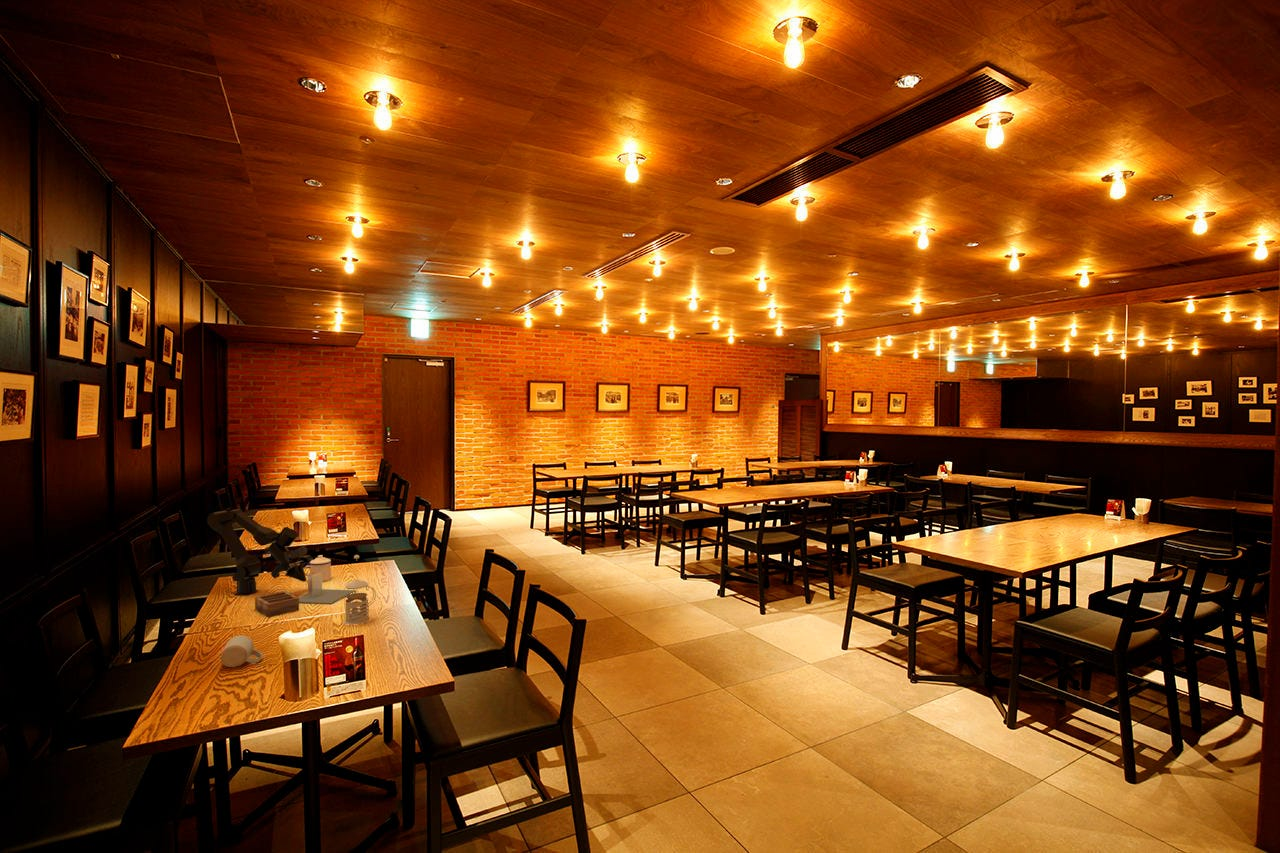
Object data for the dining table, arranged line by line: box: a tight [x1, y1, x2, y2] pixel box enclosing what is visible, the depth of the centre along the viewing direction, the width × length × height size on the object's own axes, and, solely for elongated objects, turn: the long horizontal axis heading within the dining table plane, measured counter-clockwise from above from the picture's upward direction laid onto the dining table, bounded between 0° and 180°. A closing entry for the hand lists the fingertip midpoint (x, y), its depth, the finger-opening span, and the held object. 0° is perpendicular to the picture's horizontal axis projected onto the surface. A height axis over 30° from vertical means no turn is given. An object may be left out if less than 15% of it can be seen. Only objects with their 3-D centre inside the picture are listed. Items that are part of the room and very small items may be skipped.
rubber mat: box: [298, 588, 357, 605], centre depth 257 cm, size 18×18×1 cm
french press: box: [342, 554, 377, 626], centre depth 228 cm, size 10×12×25 cm
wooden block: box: [307, 573, 323, 598], centre depth 256 cm, size 2×6×9 cm, turn 170°
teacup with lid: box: [303, 554, 332, 583], centre depth 282 cm, size 12×9×12 cm
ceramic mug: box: [220, 635, 264, 668], centre depth 189 cm, size 11×8×8 cm
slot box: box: [254, 590, 300, 618], centre depth 239 cm, size 14×11×5 cm
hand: (305, 580), depth 257 cm, fingers closed
